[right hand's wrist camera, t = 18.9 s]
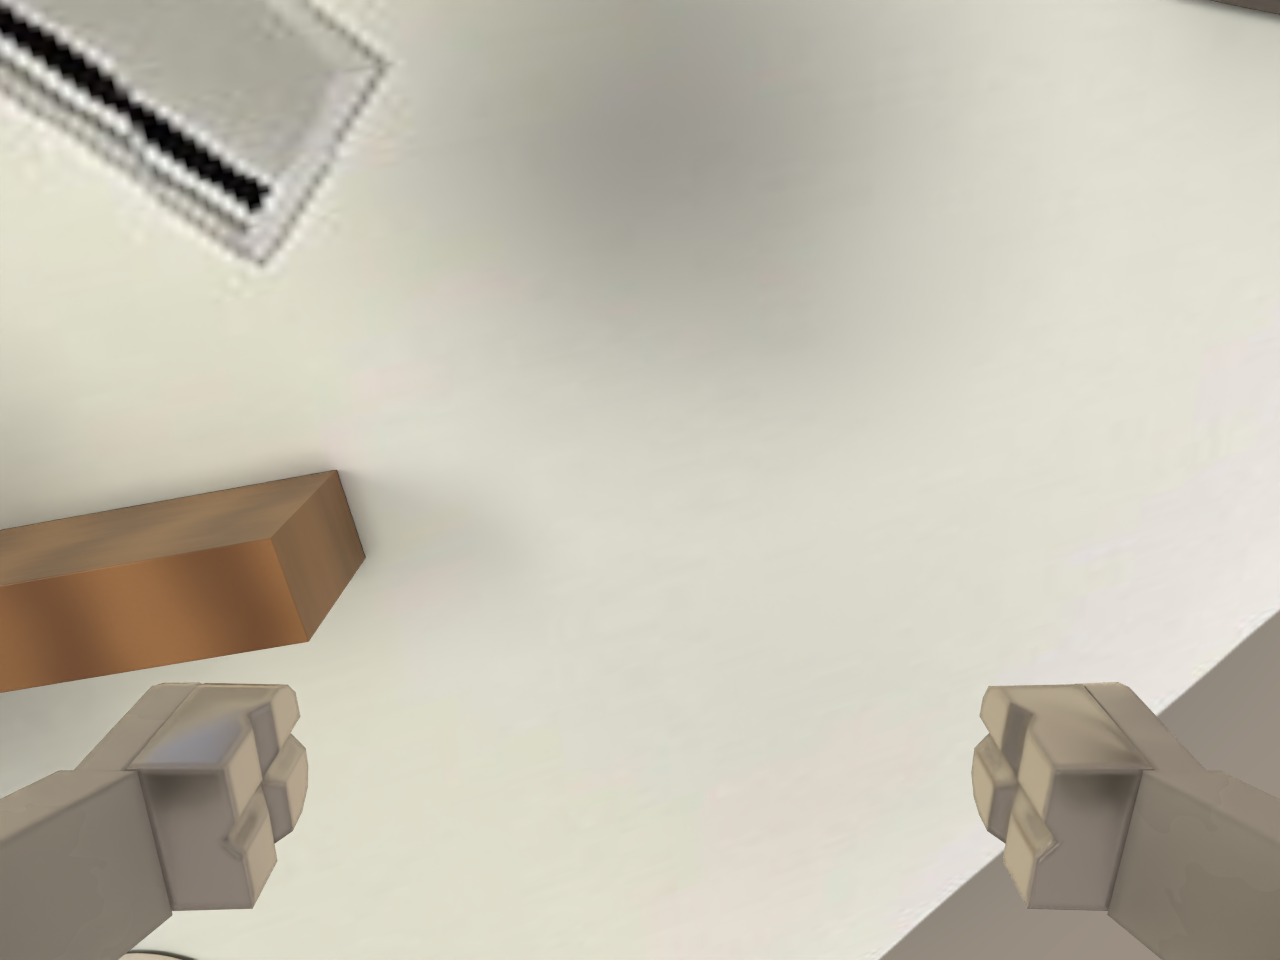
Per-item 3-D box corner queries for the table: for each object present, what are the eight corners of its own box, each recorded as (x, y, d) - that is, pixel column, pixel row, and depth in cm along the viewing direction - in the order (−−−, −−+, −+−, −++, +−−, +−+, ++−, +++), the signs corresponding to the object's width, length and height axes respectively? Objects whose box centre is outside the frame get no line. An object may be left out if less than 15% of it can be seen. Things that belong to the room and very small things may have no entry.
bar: (336, 469, 47) (270, 538, 39) (365, 558, 49) (308, 642, 40) (-42, 537, 48) (-184, 617, 40) (1, 621, 50) (-127, 714, 42)
